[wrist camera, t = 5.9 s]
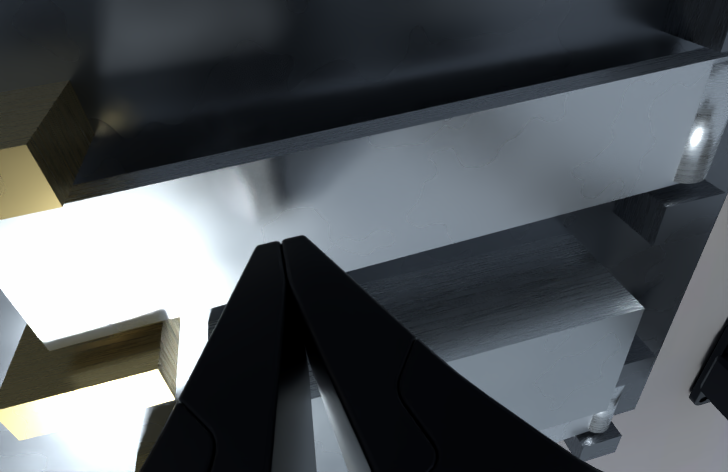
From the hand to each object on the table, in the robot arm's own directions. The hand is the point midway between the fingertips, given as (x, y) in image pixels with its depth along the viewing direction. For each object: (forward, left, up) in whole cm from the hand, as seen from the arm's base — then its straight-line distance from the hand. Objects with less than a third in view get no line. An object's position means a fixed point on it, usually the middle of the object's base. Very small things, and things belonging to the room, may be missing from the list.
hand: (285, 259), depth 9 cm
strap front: (-3, 0, -2) cm, 3 cm away
